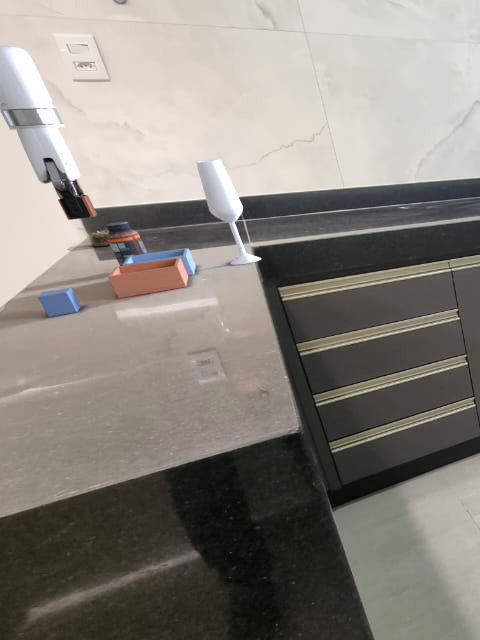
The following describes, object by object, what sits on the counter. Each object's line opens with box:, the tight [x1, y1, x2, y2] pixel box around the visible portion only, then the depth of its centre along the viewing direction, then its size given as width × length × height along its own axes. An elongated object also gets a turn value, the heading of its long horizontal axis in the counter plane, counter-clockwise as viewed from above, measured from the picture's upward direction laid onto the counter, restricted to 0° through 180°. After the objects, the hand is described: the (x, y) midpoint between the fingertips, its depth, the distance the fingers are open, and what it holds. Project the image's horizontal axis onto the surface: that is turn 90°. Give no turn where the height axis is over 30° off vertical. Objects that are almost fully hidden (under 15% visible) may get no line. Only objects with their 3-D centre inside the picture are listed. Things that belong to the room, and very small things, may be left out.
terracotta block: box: [57, 194, 98, 221], centre depth 109 cm, size 4×4×4 cm
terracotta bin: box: [107, 258, 189, 299], centre depth 115 cm, size 11×10×5 cm
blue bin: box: [123, 247, 196, 277], centre depth 124 cm, size 11×10×5 cm
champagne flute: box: [195, 159, 262, 266], centre depth 129 cm, size 7×7×24 cm
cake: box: [91, 226, 110, 247], centre depth 161 cm, size 10×10×5 cm
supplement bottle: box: [105, 221, 149, 266], centre depth 128 cm, size 6×6×11 cm
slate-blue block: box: [37, 287, 82, 318], centre depth 101 cm, size 4×4×4 cm
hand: (82, 215), depth 110 cm, fingers closed on terracotta block, 4 cm apart
